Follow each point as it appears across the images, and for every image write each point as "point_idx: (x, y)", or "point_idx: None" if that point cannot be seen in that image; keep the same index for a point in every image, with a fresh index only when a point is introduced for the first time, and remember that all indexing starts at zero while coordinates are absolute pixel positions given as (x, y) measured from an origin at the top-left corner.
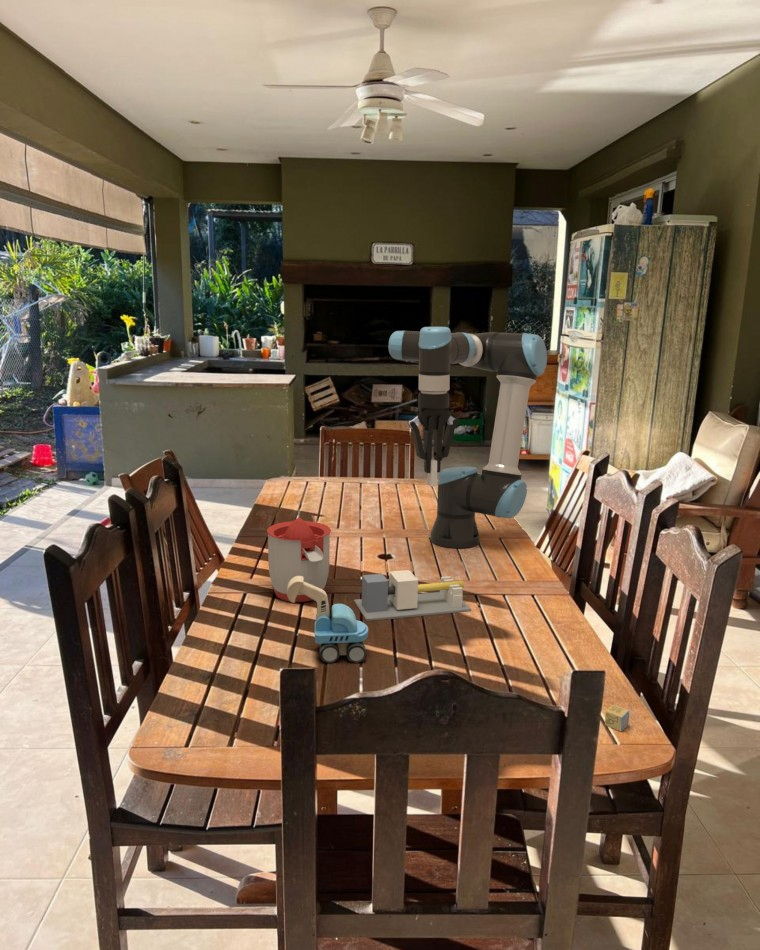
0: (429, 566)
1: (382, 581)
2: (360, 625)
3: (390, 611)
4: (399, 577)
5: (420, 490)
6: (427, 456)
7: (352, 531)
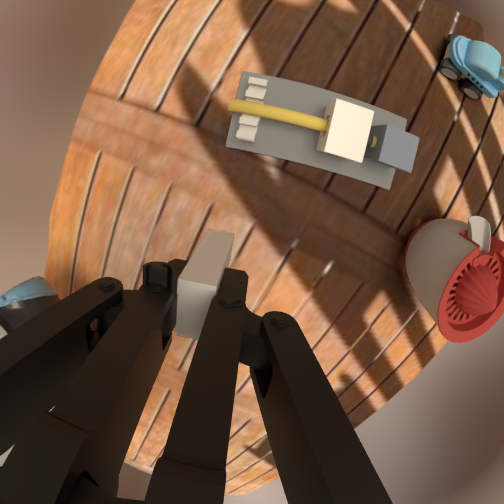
0: None
1: (396, 128)
2: (462, 48)
3: None
4: (361, 127)
5: None
6: (242, 313)
7: (237, 408)
